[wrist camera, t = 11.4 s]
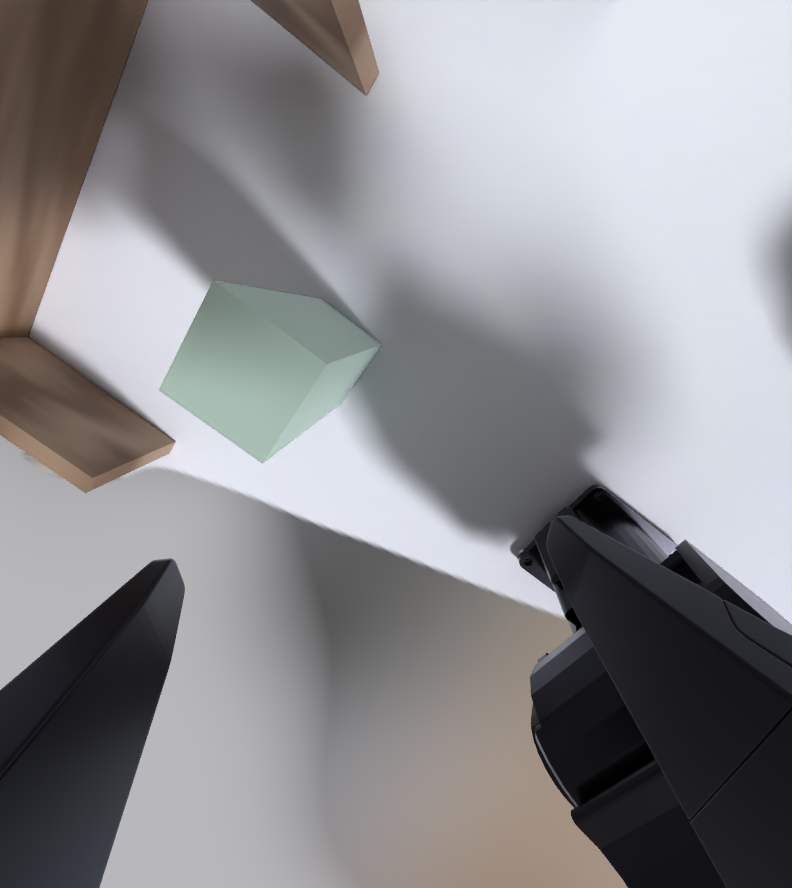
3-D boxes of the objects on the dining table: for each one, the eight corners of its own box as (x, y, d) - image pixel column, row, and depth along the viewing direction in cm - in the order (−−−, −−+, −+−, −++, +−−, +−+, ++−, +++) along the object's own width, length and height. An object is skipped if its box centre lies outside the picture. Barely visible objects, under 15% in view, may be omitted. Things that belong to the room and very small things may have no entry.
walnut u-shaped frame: (378, 72, 18) (345, -46, 12) (168, 453, 25) (85, 493, 19) (150, -118, 17) (-4, -345, 11) (1, 335, 24) (-139, 340, 18)
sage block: (382, 344, 21) (326, 364, 12) (341, 403, 22) (262, 463, 13) (320, 298, 21) (213, 280, 11) (283, 360, 22) (158, 390, 13)
